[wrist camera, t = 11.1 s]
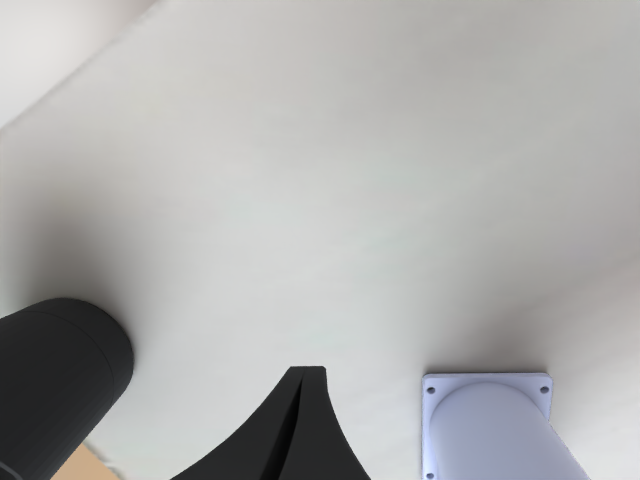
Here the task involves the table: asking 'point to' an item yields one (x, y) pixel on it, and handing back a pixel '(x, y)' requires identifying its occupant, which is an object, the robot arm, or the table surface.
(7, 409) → the pen holder
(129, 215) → the table surface
